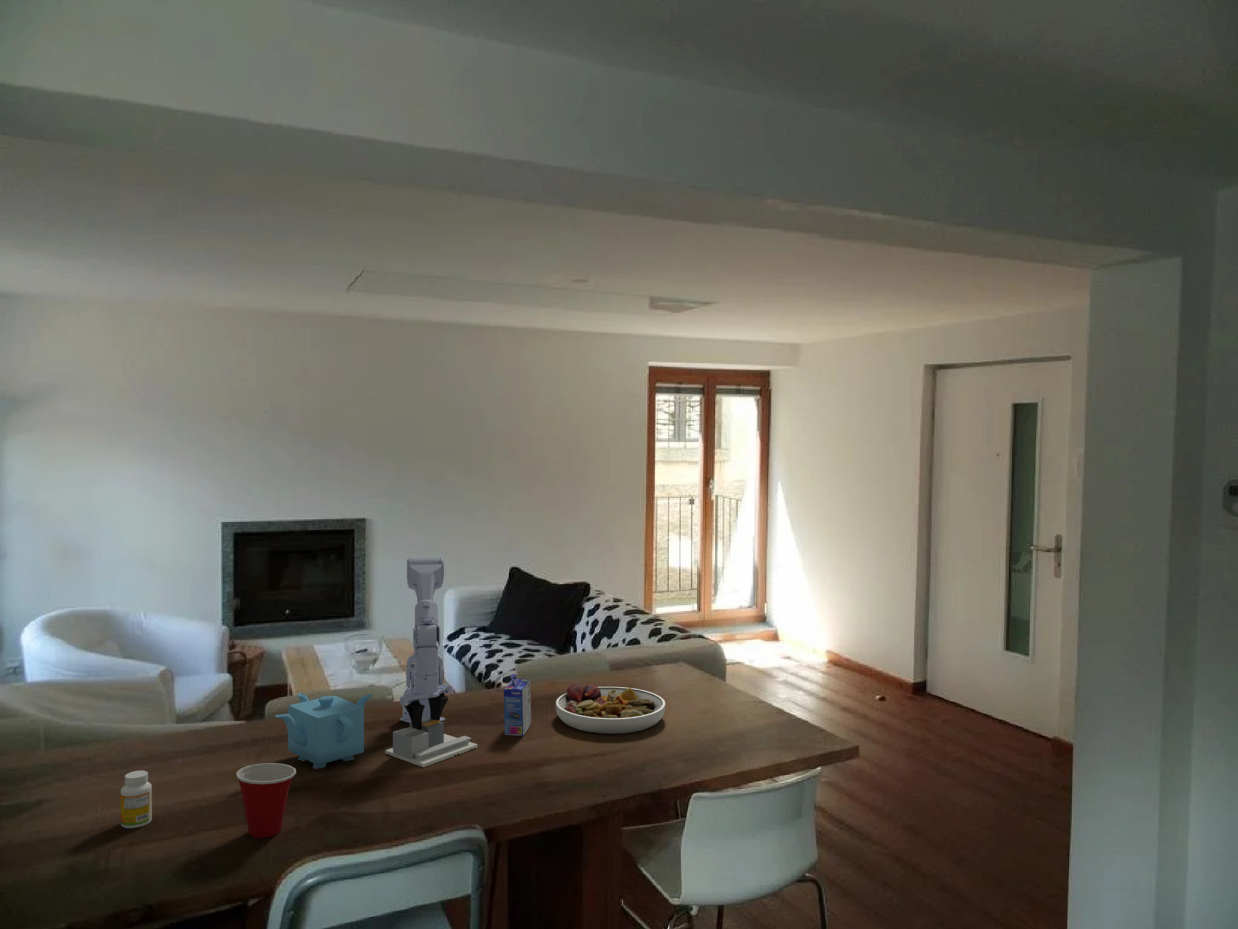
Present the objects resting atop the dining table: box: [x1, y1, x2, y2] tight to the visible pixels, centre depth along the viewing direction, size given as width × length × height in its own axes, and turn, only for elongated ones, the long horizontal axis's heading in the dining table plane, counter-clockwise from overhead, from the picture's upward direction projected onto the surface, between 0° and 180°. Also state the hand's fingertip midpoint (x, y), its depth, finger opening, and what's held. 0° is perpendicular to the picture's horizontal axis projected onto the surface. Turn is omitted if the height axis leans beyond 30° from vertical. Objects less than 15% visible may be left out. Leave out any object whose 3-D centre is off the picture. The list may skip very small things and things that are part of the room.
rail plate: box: [384, 727, 478, 768], centre depth 216 cm, size 14×17×6 cm
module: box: [408, 717, 445, 748], centre depth 219 cm, size 7×5×5 cm
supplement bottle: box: [120, 770, 153, 829], centre depth 174 cm, size 5×5×10 cm
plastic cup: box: [236, 762, 297, 839], centre depth 171 cm, size 11×11×12 cm
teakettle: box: [274, 692, 374, 769], centre depth 210 cm, size 19×19×15 cm
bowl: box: [555, 683, 666, 735], centre depth 242 cm, size 30×30×8 cm
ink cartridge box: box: [503, 673, 532, 737], centre depth 232 cm, size 10×6×14 cm, turn 174°
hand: (426, 728), depth 219 cm, fingers closed on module, 5 cm apart
